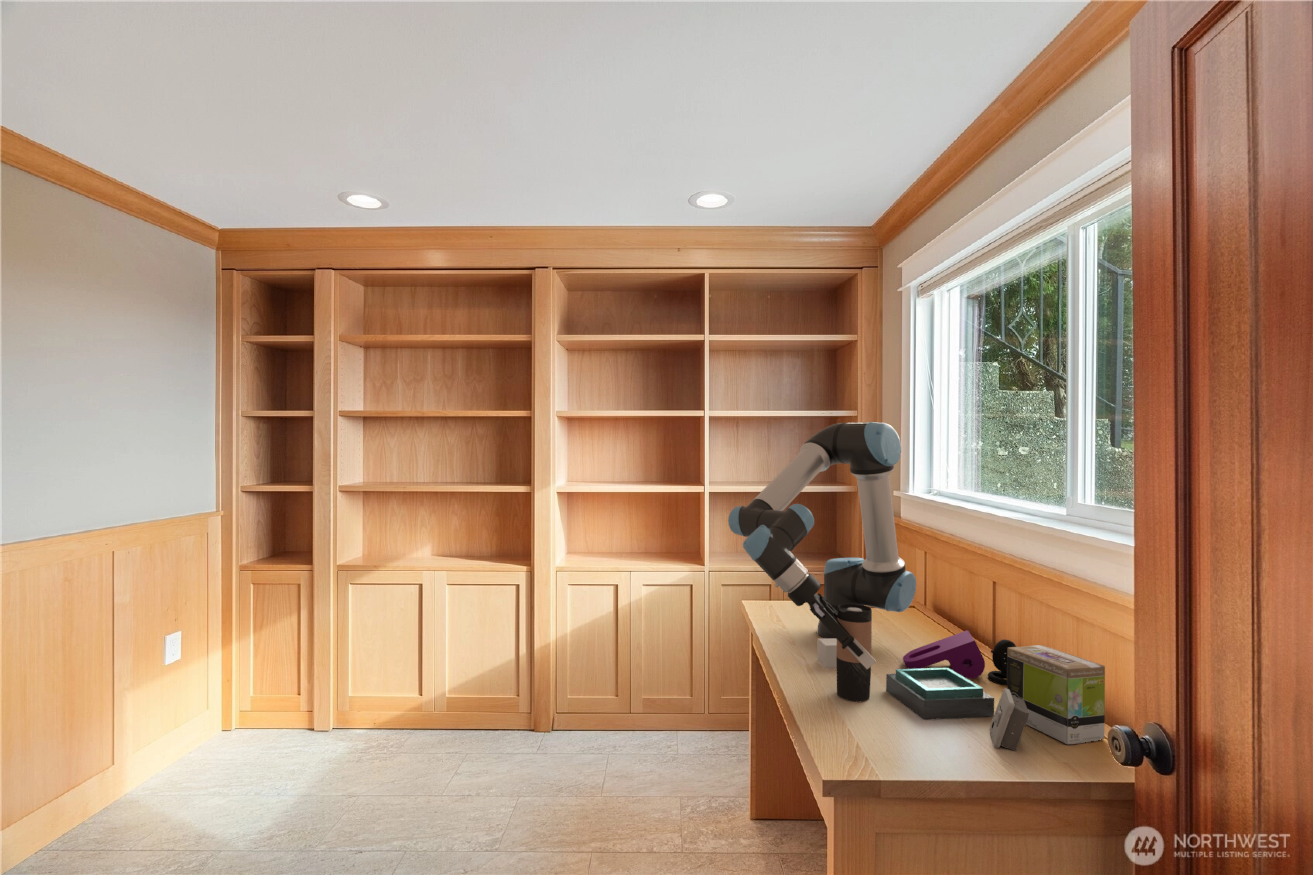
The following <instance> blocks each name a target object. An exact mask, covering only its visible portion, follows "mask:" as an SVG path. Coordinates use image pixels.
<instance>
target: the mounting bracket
mask: <svg viewBox="0 0 1313 875" xmlns="http://www.w3.org/2000/svg"><path fill="white" fill-rule="evenodd" d="M902 661H903V663H904V665H905V667H906V669H924V668H926V667H927V668H928V667H929V666H932V665H935V664H937V663H941V662H944V661H948V663H949V665H950V667H951V670H953V671H954V672H956V673H958V674H960V675H961V676H963V677H965V678H966V679H977V678H978V677H980V676H982V674H983V673H984V671H985V667H986V661H985V658H984V656H983V654H982V652H981V650H980V648H979V646H978V644H977V642H976V640H975V638H974V637H973V636H972V635H971V633H970V631H969V630H968V629H967V630H964V631H962V632H959V633H956V634H952V635H949V636H948V637H945V638H942V639H939V640H936V641H933V642H930V643H928V644H925V645H922V646H919V647H917V648H914V649H912V650H910V651H908V652H907V653H906V654H904V655H903V657H902Z"/></svg>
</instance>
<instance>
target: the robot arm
mask: <svg viewBox="0 0 1313 875" xmlns="http://www.w3.org/2000/svg"><path fill="white" fill-rule="evenodd" d="M901 453H902V445H901V440H900V436H899V433H898V432H897V430H896V429H895V428H894V427H893V426H892V425H890V424H888V423H885V422H876V421H864V422H863V421H861V422H837V423H833V424H831V425H828V426H826V427H825V428H823V429H821V430H819V431H818V432H816V433H815V434H814V435H812V436H811V437H810V438H808V439H807V441H805V442H804V443H803V444H802V445H801V446H800V449H799V453H798V454H797V455H796V456H795V457H794V458H793V459H792V460H791V461H790V462H789V463H788V464H787V465H786V466H785V467H784V468H783V469H782V470H781V471H779V473H778V474H777V475H776V477H774V478H773V479H772V481H770V483H768V484H767V485H766V486H765V487H764V488H763V490H761V491H760V493H759V494H758V495H757V496H756V497H754V498H753V500H751V501H750V503H749V504H747V505H746V506H745V505H741V506H735V507H733V508H732V509H731V510H730V513H729V515H728V520H727V522H728V526H729V529H730V531H731V532H732V533H733V534H734V535H738V536H743V537H746V538H745V539H744V540H743V542H742V548H743V549H744V550H745V552H746V553H747V555H749V557H750V558H751V560H752V561H753V562H755V563H756V564H757V565H758V566H759V568H761V570H763V571H764V573H766V575H767V576H768V577H769V578H770V579H771V580H772V581H774V586H775V588H780V590H782V592H784V593H787V597H788V598H789V599H790V601H791V602H792V603H793V604H794V605H795V606H797V607H801V606H803V605H804V604H806V603H807V604H808V606H809V611H810V612H811V613H812V614H813V615H814V616H815V617H816V618H817V619H818V622H817V623H818V624H817V635H818V636H820V637H821V638H822V639H830V638H836V639H837V640H838V641H839V642H840V643H841V644H842V648H843V649H845V648H847V649H848V650H849V651H850V652H851V653H852V654H853V655H854V656H855V657H856V658H857V659H858V660H859V661H860V662H861V664H862V665H863V666H864V667H865V668H866V669H869V668H870V667H871V668H872V667H873V665H875V664H876V663H877V660H876V659H875V657H873V656H872V654H871V655H870V654H869V653H868V652H867V651H866V649H865V648H864V647H863V646H862V645H861V644H860V643H859V642H858V641H857V640H856V639H855V638H853V637H852V636H851V635H850V634H849V633H848V631H847V630H846V629H845V628H844V627H843V626H842V625H841V623H840V622H839V621H838V620H837V613H838V605H841V604H859V605H864V606H868V607H870V608H873V609H874V608H875V609H880V610H885V611H886V612H894V613H903V612H905V611H907V609H908V608H909V607H910V606H911V604H912V602H913V600H914V598H915V594H916V591H917V590H916V589H917V579H916V576H915V574H914V573H913V572H911V571H910V570H907V569H906V562H905V560H904V559H903V558H901V557H900V556H899V551H898V541H897V531H896V523H895V514H894V507H893V506H894V505H893V499H892V498H893V497H892V491H891V490H892V489H891V479H890V475H891V474H892V473H893V471H894V470H895V465H896V464H897V463H899V460H900V458H901V455H900V454H901ZM839 464H844V465H849V471H850V472H849V473H850V474H851V475H852V476H854V477H855V478H856V482H857V490H858V497H859V500H858V501H859V506H860V507H859V508H860V513H861V514H860V515H861V524H862V530H863V537H864V538H863V539H864V548H865V553H866V554H865V556H866V558H865V559H864V558H862V557H836V558H830V559H828V560H827V561H825V563H824V569H823V570H824V571H823V595H822V594H821V593H818V592H819V590H820V588H821V587H822V586H821V583H820V581H819V580H818V579H817V578H816V577H815V576H814V575H813V573H812V574H811V573H809V572H808V571H809V570H808V568H807V567H806V566H805V565H804V564H803V563H802V562H801V561H800V560H799V559H798V558H797V557H796V556H795V555H794V554H793V553H792V551H793V550H794V549H795V548H796V547H797V546H798V544H800V542H802V541H803V540H804V538H805V537H806V536H808V534H809V532H810V531H811V530H812V528H813V527H814V526H815V517H814V516H813V515H814V514H813V512H812V511H811V510H810V509H809V508H808V507H806V506H805V505H803V504H800V503H794V504H791V503H792V502H793V501H794V500H795V498H796V497H797V496H799V495H800V493H801V492H802V491H803V490H804V489H805V488H806V487H807V486H808V485H809V484H810V483H811V481H813V479H814V478H815V477H817V476H818V474H820V472H822V473H823V472H825V471H827V470H828V469H829V468H830V467H831V466H833V465H839ZM790 504H791V505H790ZM789 505H790V506H789ZM845 638H846V639H845ZM844 639H845V640H844ZM872 651H873V649H872V648H871V652H872Z"/></svg>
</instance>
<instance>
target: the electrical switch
mask: <svg viewBox="0 0 1313 875" xmlns="http://www.w3.org/2000/svg"><path fill="white" fill-rule="evenodd" d="M1028 716H1029V712H1028V709H1027V707H1026V704H1025V702H1024V700H1023V699H1020V698H1017V697H1016V696H1014V695H1011V693H1010V690H1009V689H1007V687H1005V688H1004V689H1003V691H1002V693H1001V695H1000V698H999V700H998V703H997V706H996V709H995V710H994V717H992V719H991V722H990V727H989V731H990V736H991V741H992V744H993V747H994V748H996V749H997V750H999V749H1000V747H1001V746H1002V747H1003V748H1005V749H1009V750H1011V751H1014V752H1016V751H1017V749H1018V746H1019V743H1020V741H1021V739H1022V735H1023V732H1024V729H1025V726H1026V725H1027V724H1026V722H1027V719H1028Z"/></svg>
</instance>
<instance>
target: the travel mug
mask: <svg viewBox="0 0 1313 875" xmlns="http://www.w3.org/2000/svg"><path fill="white" fill-rule="evenodd" d="M872 612H873V611H872V607H870V606H865V605H859V604H841V605H838V613H837V620H838V621H839V622H840V623H841V625H842V626H843V627H844V628H845V629H846V630H847V631H848V633H849V634H850V635H851V636H852V637H853V638H855V639H856V640H857V641H858V642H859V643H860V644H861V645H862V646H863V647H864V648H865V649H866V651H867V652H868V653H869V654H870V655H871V656H872V651H871V649H872V644H873V643H872V637H873V636H872V632H873V631H872V626H873V625H872V619H873V617H872V616H873V614H872ZM845 639H846V638H845ZM845 639H844V640H845ZM836 665H837V669H836V694H837V696H838V697H839V698H841V699H842V698H843V699H842V700H845V701H848V702H849V701H850V702H856V701H857V703H859V702H860V701H861V702H866V701H868V700H870V697H871V696H870V695H871V694H870V693H871V678H872V677H871V676H872V666H871V667H870V668H869V669H866V668H865V667H864V666H863V665H862V664H861V662H860V661H859V660H858V659H857V658H856V657H855V656H854V655H853V654H852V653H851V652H850V651H849V650H848V649H847V648H845V649H843V648H842V644H841V643H840V642H839V641H838V640H837V651H836Z"/></svg>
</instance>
